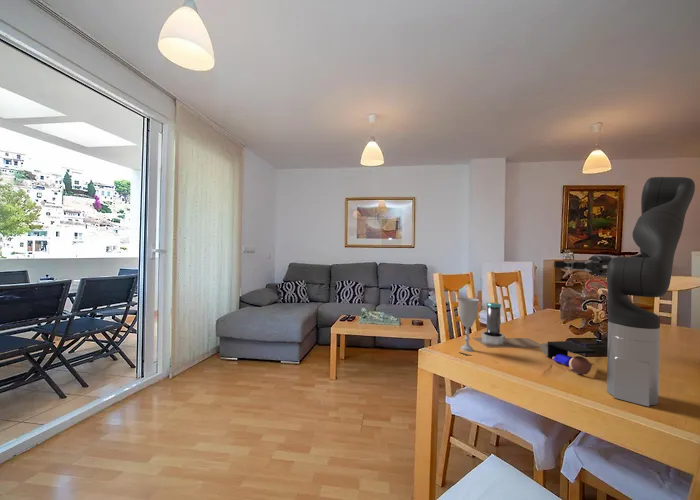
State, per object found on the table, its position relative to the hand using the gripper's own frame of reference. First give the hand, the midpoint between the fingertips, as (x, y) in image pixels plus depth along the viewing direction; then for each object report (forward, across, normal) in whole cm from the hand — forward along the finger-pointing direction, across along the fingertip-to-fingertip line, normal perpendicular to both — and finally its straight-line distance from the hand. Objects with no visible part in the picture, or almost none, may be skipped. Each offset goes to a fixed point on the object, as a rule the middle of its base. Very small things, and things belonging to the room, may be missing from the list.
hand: (563, 265), depth 111 cm
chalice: (+36, +4, +30) cm, 47 cm away
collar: (+22, -5, +29) cm, 37 cm away
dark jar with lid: (+22, -5, +29) cm, 37 cm away
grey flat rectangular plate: (+16, -5, +30) cm, 34 cm away
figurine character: (+11, +16, +30) cm, 36 cm away
